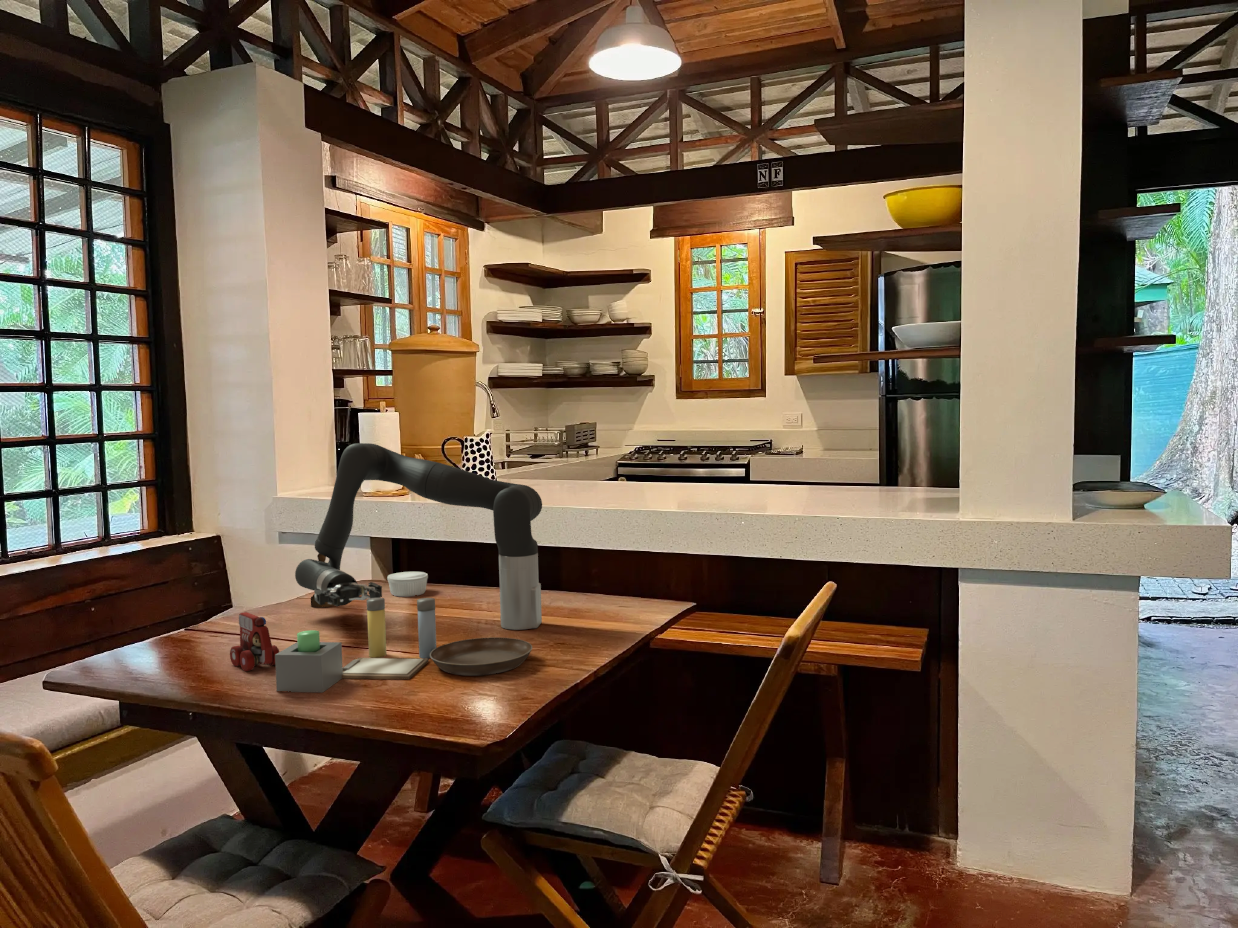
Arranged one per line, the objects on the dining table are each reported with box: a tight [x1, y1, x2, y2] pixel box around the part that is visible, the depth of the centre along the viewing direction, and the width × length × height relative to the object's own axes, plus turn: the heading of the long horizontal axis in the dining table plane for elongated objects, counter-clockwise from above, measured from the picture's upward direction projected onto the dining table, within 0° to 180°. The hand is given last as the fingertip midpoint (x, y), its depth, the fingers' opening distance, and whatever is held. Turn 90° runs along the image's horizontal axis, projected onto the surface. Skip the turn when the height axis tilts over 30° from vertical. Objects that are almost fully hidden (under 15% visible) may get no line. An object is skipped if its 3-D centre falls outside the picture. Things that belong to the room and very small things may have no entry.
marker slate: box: [416, 597, 437, 659], centre depth 190 cm, size 4×4×12 cm
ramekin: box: [386, 571, 429, 598], centre depth 254 cm, size 11×11×5 cm
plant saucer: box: [430, 636, 533, 677], centre depth 184 cm, size 21×21×3 cm
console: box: [274, 641, 344, 693], centre depth 173 cm, size 9×9×7 cm
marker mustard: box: [366, 597, 387, 658], centre depth 192 cm, size 4×4×12 cm
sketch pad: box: [342, 657, 430, 680], centre depth 182 cm, size 15×12×1 cm
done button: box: [296, 629, 321, 652], centre depth 172 cm, size 4×4×4 cm
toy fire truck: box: [229, 611, 280, 672], centre depth 186 cm, size 7×12×10 cm, turn 45°
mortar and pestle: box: [310, 540, 335, 608], centre depth 241 cm, size 7×6×18 cm
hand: (358, 599), depth 201 cm, fingers open, 8 cm apart
